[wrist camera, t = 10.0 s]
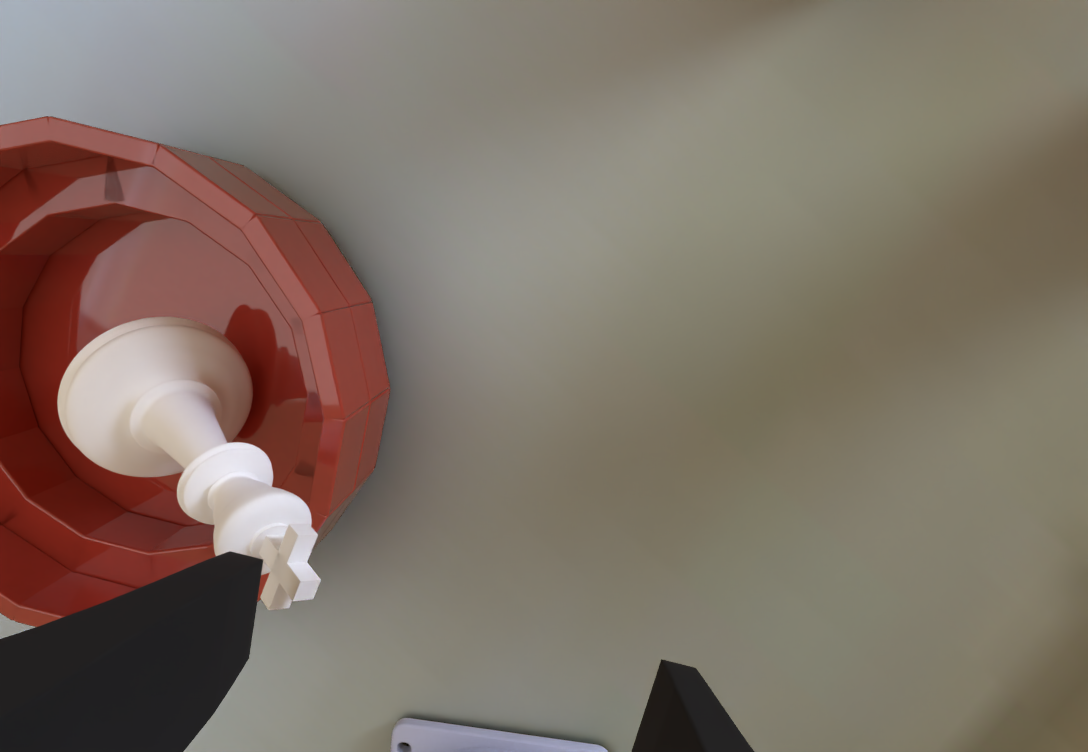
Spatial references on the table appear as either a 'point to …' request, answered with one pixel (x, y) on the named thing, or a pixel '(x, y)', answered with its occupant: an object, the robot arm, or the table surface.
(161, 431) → the chess piece
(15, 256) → the bowl
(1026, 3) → the table surface
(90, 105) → the table surface
